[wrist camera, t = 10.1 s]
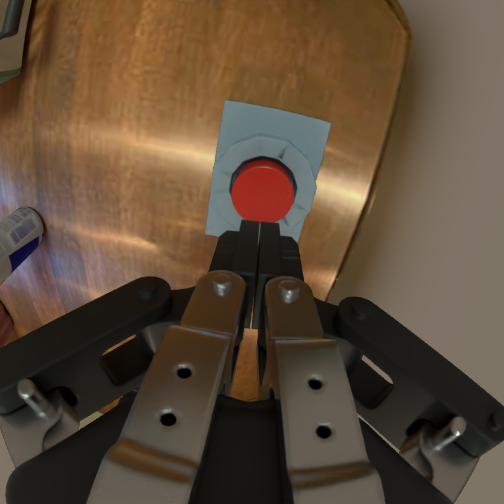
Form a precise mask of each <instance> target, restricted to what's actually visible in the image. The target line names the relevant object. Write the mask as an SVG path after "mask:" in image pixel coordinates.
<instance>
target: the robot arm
mask: <svg viewBox="0 0 504 504" xmlns="http://www.w3.org/2000/svg"><path fill="white" fill-rule="evenodd" d="M259 222H260V221H252V220H242V219H241V224H240V229H239V231H230V230H227V231H225V232H224V233H223V234H222V235H220V236H219V240H218V243H217V246H216V249H215V252H214V256H213V259H212V262H211V265H210V269H209V272H208V273H206V274H204V275H203V276H202V277H201V278H200V279H199V281H198V283H197V285H196V286H194V287H191V288H187V289H178V290H171V288H170V285H169V284H168V283H167V282H166V281H165V280H163V279H161V278H158V277H142V278H139V279H136V280H134V281H132V282H130V283H128V284H126V285H124V286H121V287H119V288H117V289H115V290H113V291H111V292H109V293H107V294H105V295H103V296H101V297H99V298H97V299H95V300H93V301H91V302H89V303H87V304H85V305H83V306H81V307H79V308H77V309H75V310H73V311H71V312H69V313H67V314H65V315H63V316H61V317H59V318H57V319H55V320H53V321H51V322H50V323H48V324H46V325H44V326H42V327H40V328H38V329H36V330H34V331H32V332H30V333H28V334H27V335H25V336H23V337H21V338H19V339H17V340H15V341H13V342H12V343H10V344H8V345H6V346H4V347H2V348H0V429H1V432H2V435H3V438H4V441H5V444H6V446H7V449H8V451H9V454H10V456H11V459H12V461H13V463H14V466H15V468H16V469H15V470H14V471H13V472H12V474H11V475H10V477H9V479H8V482H7V485H6V494H5V495H6V503H7V504H454V503H455V501H456V500H457V498H458V497H459V495H460V493H461V492H462V490H463V488H464V487H465V485H466V483H467V481H468V479H469V478H470V476H471V474H472V472H473V470H474V468H475V466H476V464H477V463H478V460H479V458H480V457H481V456H482V455H483V454H484V453H486V452H488V451H489V450H491V449H492V448H494V447H495V446H496V445H498V444H500V443H501V442H502V441H503V440H504V406H503V405H502V404H501V403H499V402H498V401H497V400H496V399H495V398H493V397H492V396H491V395H490V394H489V393H487V392H486V391H485V390H484V389H483V388H481V387H480V386H479V385H478V384H477V383H475V382H474V381H473V380H472V379H471V378H469V377H468V376H467V375H466V374H464V373H463V372H462V371H461V370H459V369H458V368H457V367H456V366H454V365H453V364H452V363H451V362H449V361H448V360H447V359H446V358H444V357H443V356H442V355H441V354H439V353H438V352H437V351H436V350H434V349H433V348H432V347H430V346H429V345H428V344H427V343H425V342H424V341H422V340H421V339H420V338H419V337H417V336H416V335H415V334H414V333H412V332H411V331H410V330H408V329H407V328H406V327H404V326H403V325H402V324H400V323H399V322H398V321H397V320H395V319H394V318H393V317H391V316H390V315H388V314H387V313H386V312H385V311H383V310H382V309H381V308H379V307H378V306H377V305H375V304H374V303H372V302H371V301H369V300H367V299H364V298H361V297H347V298H345V299H343V300H342V301H341V302H340V303H339V306H336V305H333V304H330V303H326V302H323V301H321V300H319V299H317V298H315V297H314V296H313V294H312V290H311V288H310V287H309V286H308V285H307V284H306V283H305V282H304V278H303V271H302V265H301V260H300V254H299V248H298V243H297V242H296V241H295V240H294V239H293V238H292V237H291V236H281V235H280V225H279V223H273V222H263V221H261V226H260V235H259ZM258 238H259V244H258ZM254 288H255V290H254ZM253 297H254V304H253ZM252 305H253V318H252V329H258V339H257V345H256V358H257V381H258V401H253V402H245V401H241V400H238V399H235V398H232V397H230V395H231V389H232V385H233V380H234V375H235V370H236V365H237V361H238V356H239V351H240V344H241V342H242V340H243V335H244V328H249V329H250V322H251V314H252ZM134 334H135V335H136V337H135V338H133V339H131V340H130V341H128V342H126V343H124V344H123V345H121V346H119V347H117V348H116V349H114V350H112V351H110V352H109V353H107V354H105V355H103V356H102V354H103V353H104V352H105V351H106V350H108V349H109V348H111V347H113V346H115V345H116V344H118V343H120V342H122V341H123V340H125V339H127V338H129V337H130V336H132V335H134ZM363 355H365V356H366V357H367V358H368V359H369V360H371V361H372V362H373V363H374V364H375V365H376V366H378V367H379V368H380V369H381V370H382V371H384V372H385V373H386V374H388V376H389V377H390V378H391V379H392V381H393V384H391V383H389V382H388V381H386V380H385V379H384V378H383V377H382V376H380V375H379V374H378V373H377V372H376V371H374V370H373V369H372V368H371V367H370V366H368V364H366V363H365V362H364V361H363V360H362V357H363ZM140 384H141V386H140V388H139V391H138V393H137V395H136V396H135V397H132V398H130V399H128V400H126V401H124V402H122V403H120V404H119V405H117V406H116V407H114V408H113V409H111V410H110V411H108V412H107V413H105V414H103V415H102V416H100V417H99V418H97V419H96V420H94V421H93V422H91V423H90V424H88V425H86V426H85V427H83V428H82V429H80V430H79V425H80V421H81V420H83V419H84V418H86V417H88V416H90V415H91V414H93V413H95V412H96V411H98V410H100V409H101V408H103V407H105V406H106V405H108V404H110V403H111V402H113V401H115V400H116V399H118V398H120V397H121V396H123V395H124V394H126V393H128V392H129V391H131V390H132V389H134V388H136V387H137V386H139V385H140ZM357 413H358V414H359V415H361V416H362V417H363V418H364V419H365V420H366V421H367V422H368V423H369V424H370V425H372V426H373V427H374V428H375V429H376V430H377V431H378V432H379V433H380V434H382V435H383V436H384V437H385V438H386V439H387V440H388V441H390V442H391V443H392V444H393V445H394V446H395V447H396V448H398V449H399V450H400V451H399V454H398V453H397V452H396V451H395V450H394V449H393V448H392V447H391V446H390V445H389V444H388V443H386V441H384V440H383V439H382V438H381V437H380V436H379V435H378V434H377V433H376V432H375V431H374V430H373V429H372V428H371V427H370V426H369V425H368V424H367V423H365V422H364V421H363V420H361V419H360V418H359V417H358V415H357Z"/></svg>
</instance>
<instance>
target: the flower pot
mask: <svg viewBox="0 0 504 504" xmlns="http://www.w3.org/2000/svg"><path fill="white" fill-rule="evenodd" d="M12 330H13V323H12V320H11V318H10V316H9V315H8V314H6V313H5V310H4V306H3V305H2V303H1V302H0V348H2V347H3V346H4V344H5V342H6V340H7V339H8V337H9V335H10V333H11V331H12Z"/></svg>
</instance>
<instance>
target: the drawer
mask: <svg viewBox="0 0 504 504" xmlns="http://www.w3.org/2000/svg"><path fill="white" fill-rule="evenodd" d="M31 2H32V0H0V72H2V71H9V70H15V69H17V68H19V67H21V66H22V55H23V46H24V38H25V32H26V26H27V21H28V16H29V11H30V6H31Z"/></svg>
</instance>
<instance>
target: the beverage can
mask: <svg viewBox="0 0 504 504" xmlns="http://www.w3.org/2000/svg"><path fill="white" fill-rule="evenodd" d="M43 231H44V228H43V223H42V221H41V219H40V217H39V215H38V214H37V213H36V212H35V211H34V210H32V209H30V208H28V207H21V208H19V209H17V210H16V211H15V212H13V213H12V214H10V215H9V216H8V217H6V218H5V219H4V220H2V221H1V222H0V285H1V284H2V283H3V282H4V281H5V280H6V279H7V278H8V277H9V276H10V274H11V273H12V272H13V271H14V270H15V269H16V268H17V267H18V266H19V265H20V264H21V263H22V262H23V261H24V260H25V259H26V258H27V257H28V256H29V255H30V254H31V253H32V252H33V251H34V250H35V249H36V248H37V247H38V246H39V245H40V244H41V243H42V241H43V237H44V233H43Z"/></svg>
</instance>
